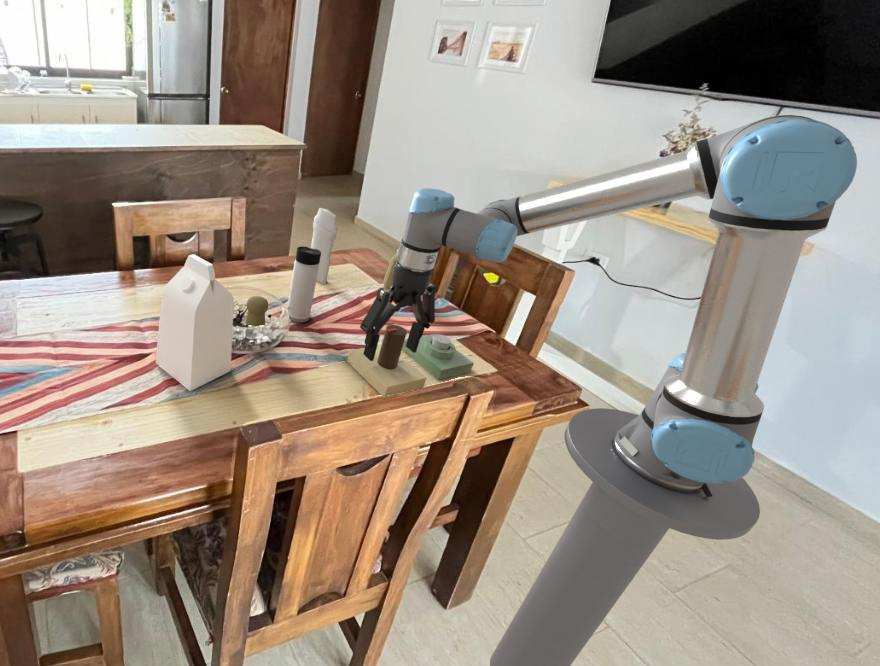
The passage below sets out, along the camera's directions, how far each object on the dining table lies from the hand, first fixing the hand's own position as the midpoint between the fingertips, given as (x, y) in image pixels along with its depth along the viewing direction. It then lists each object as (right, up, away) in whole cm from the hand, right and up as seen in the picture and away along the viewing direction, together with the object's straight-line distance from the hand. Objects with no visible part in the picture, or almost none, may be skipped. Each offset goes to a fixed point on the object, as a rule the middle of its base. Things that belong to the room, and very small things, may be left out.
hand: (389, 353), depth 115 cm
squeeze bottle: (+13, +12, +40) cm, 44 cm away
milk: (-44, -3, -2) cm, 44 cm away
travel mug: (-18, +7, +22) cm, 29 cm away
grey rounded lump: (+14, +1, +8) cm, 17 cm away
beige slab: (-1, -5, +3) cm, 6 cm away
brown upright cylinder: (0, -2, +1) cm, 3 cm away
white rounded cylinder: (-10, +18, +45) cm, 50 cm away
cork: (-30, +2, +11) cm, 32 cm away
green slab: (+14, -3, +10) cm, 18 cm away
